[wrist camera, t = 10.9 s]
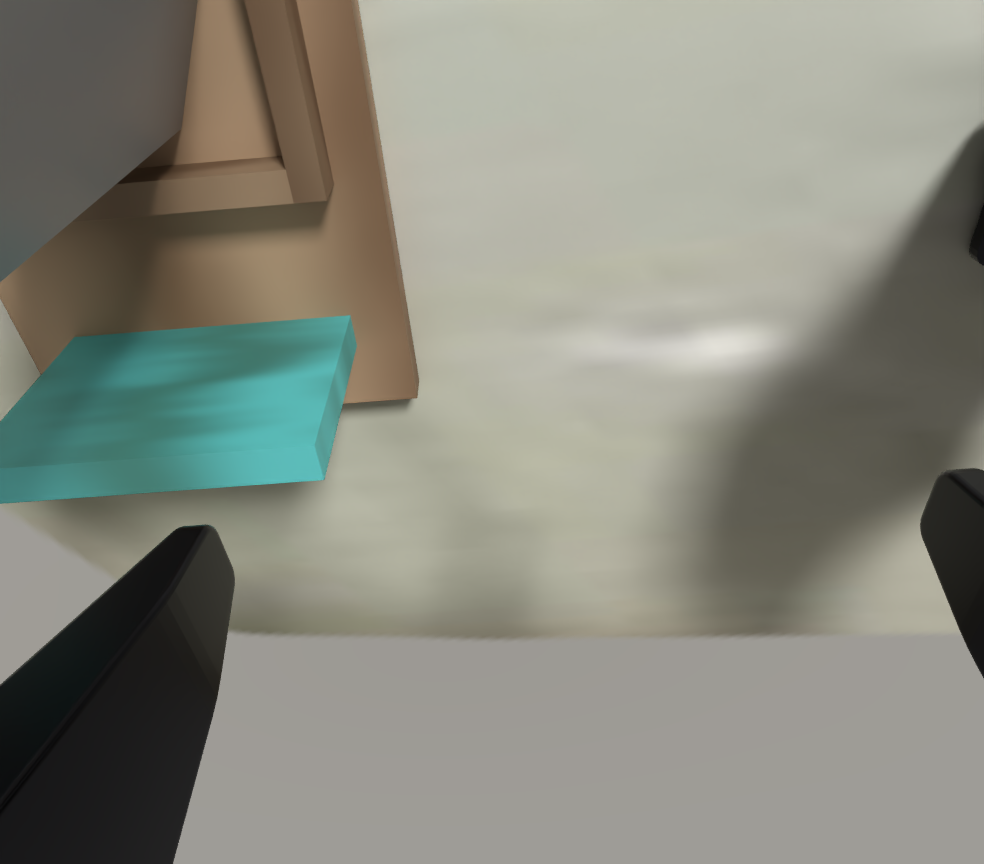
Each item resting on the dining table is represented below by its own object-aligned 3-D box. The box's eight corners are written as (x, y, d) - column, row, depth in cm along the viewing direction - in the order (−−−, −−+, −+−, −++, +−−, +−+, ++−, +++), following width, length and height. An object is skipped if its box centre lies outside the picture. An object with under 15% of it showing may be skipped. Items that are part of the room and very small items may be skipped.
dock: (276, -506, 12) (116, -827, 7) (419, 380, 23) (403, 537, 18) (-349, -438, 13) (-998, -693, 7) (81, 406, 23) (-40, 569, 18)
